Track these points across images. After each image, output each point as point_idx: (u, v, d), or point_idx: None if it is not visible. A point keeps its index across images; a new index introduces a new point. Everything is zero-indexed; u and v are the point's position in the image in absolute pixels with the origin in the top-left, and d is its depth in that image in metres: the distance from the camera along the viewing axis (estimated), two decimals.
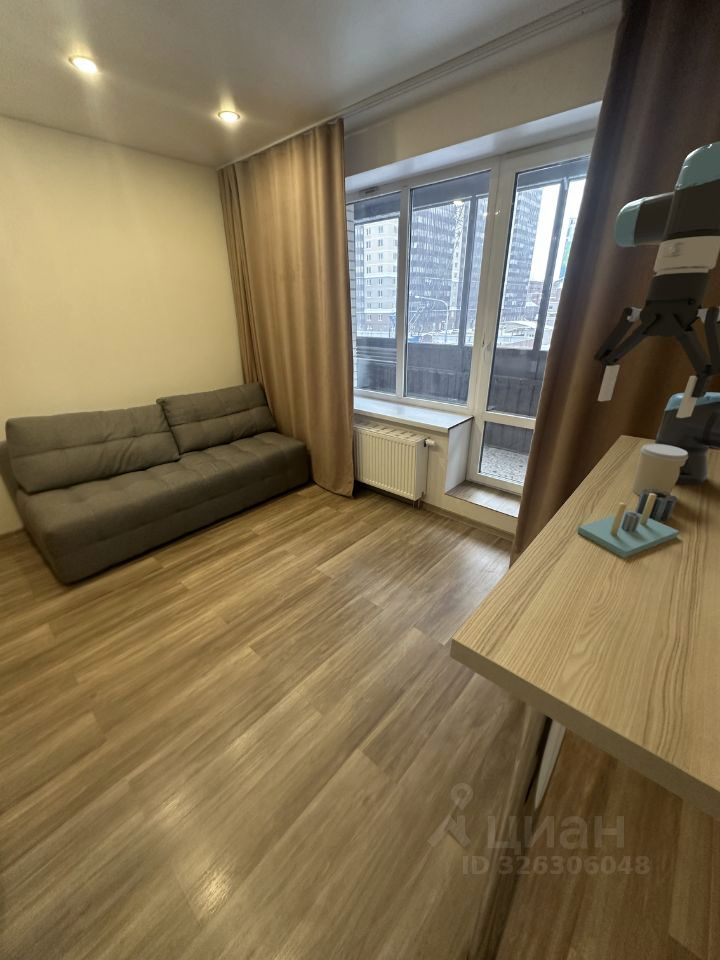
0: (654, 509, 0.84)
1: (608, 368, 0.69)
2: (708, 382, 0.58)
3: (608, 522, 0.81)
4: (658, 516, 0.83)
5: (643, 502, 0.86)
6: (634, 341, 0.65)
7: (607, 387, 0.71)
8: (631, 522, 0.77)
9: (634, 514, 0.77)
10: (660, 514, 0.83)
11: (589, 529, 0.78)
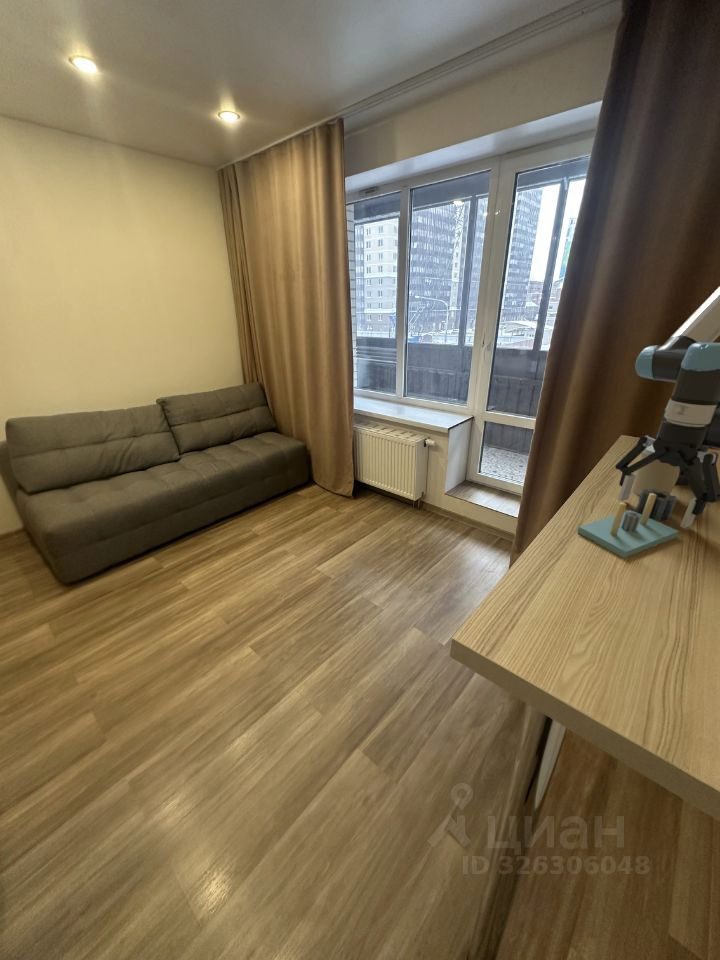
0: (654, 509, 0.84)
1: (627, 477, 0.89)
2: (704, 505, 0.77)
3: (608, 522, 0.81)
4: (658, 516, 0.83)
5: (643, 502, 0.86)
6: (648, 462, 0.85)
7: (625, 491, 0.90)
8: (631, 522, 0.77)
9: (634, 514, 0.77)
10: (660, 514, 0.83)
11: (589, 529, 0.78)
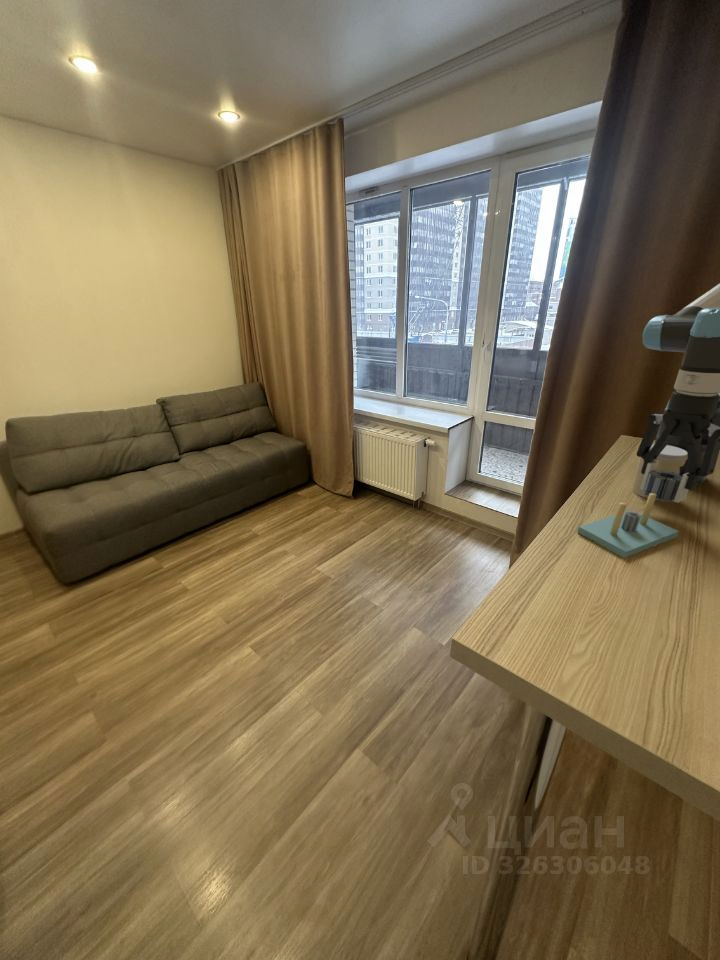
0: (662, 490, 0.82)
1: (649, 465, 0.85)
2: (697, 479, 0.78)
3: (608, 522, 0.81)
4: (667, 497, 0.82)
5: (651, 483, 0.84)
6: (665, 441, 0.81)
7: None
8: (631, 522, 0.77)
9: (634, 514, 0.77)
10: (669, 495, 0.81)
11: (589, 529, 0.78)
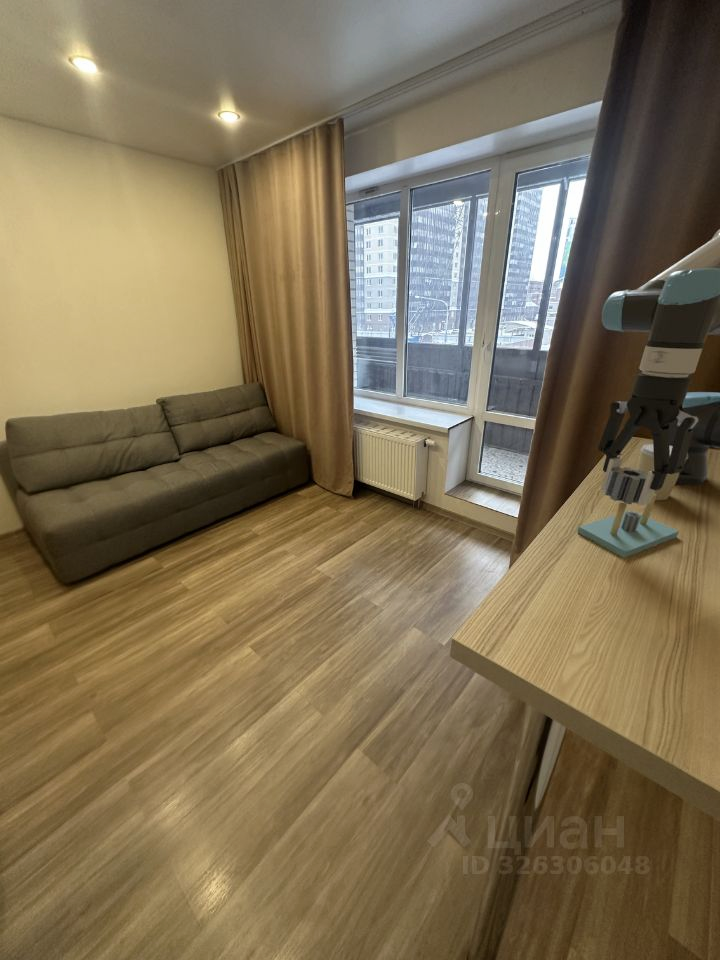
0: (625, 489, 0.70)
1: (611, 461, 0.73)
2: (664, 478, 0.66)
3: (608, 522, 0.81)
4: (629, 498, 0.69)
5: (613, 482, 0.72)
6: (629, 432, 0.69)
7: None
8: (631, 522, 0.77)
9: (634, 514, 0.77)
10: (632, 495, 0.69)
11: (589, 529, 0.78)
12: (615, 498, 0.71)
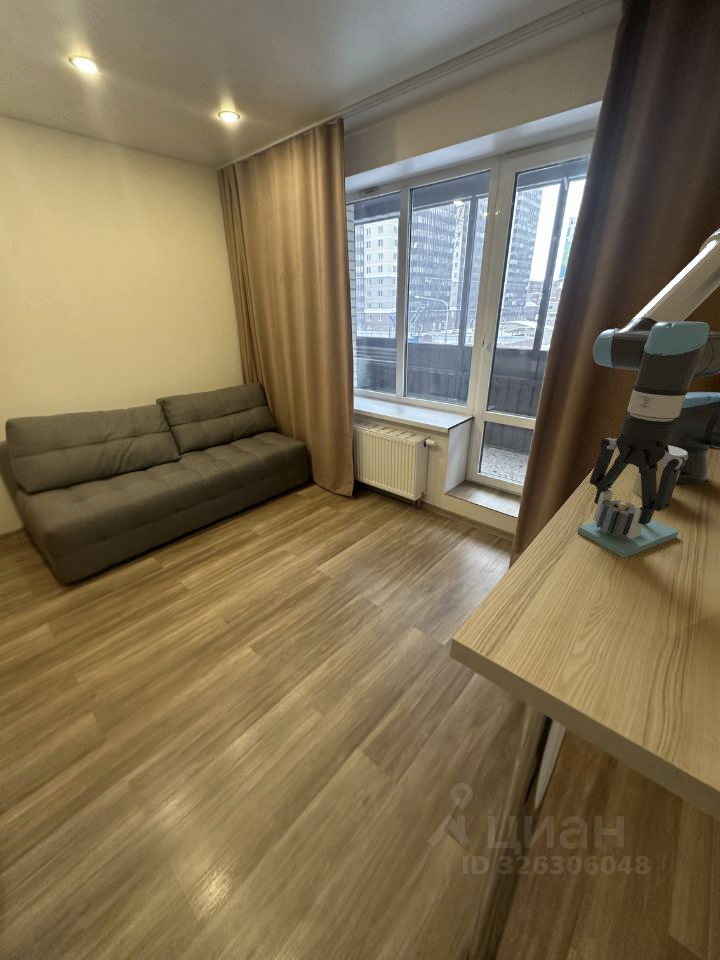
0: (615, 523, 0.73)
1: (602, 494, 0.76)
2: (651, 513, 0.69)
3: None
4: (619, 531, 0.73)
5: (603, 515, 0.75)
6: (619, 468, 0.72)
7: None
8: None
9: None
10: (621, 529, 0.72)
11: (589, 529, 0.78)
12: (605, 531, 0.74)
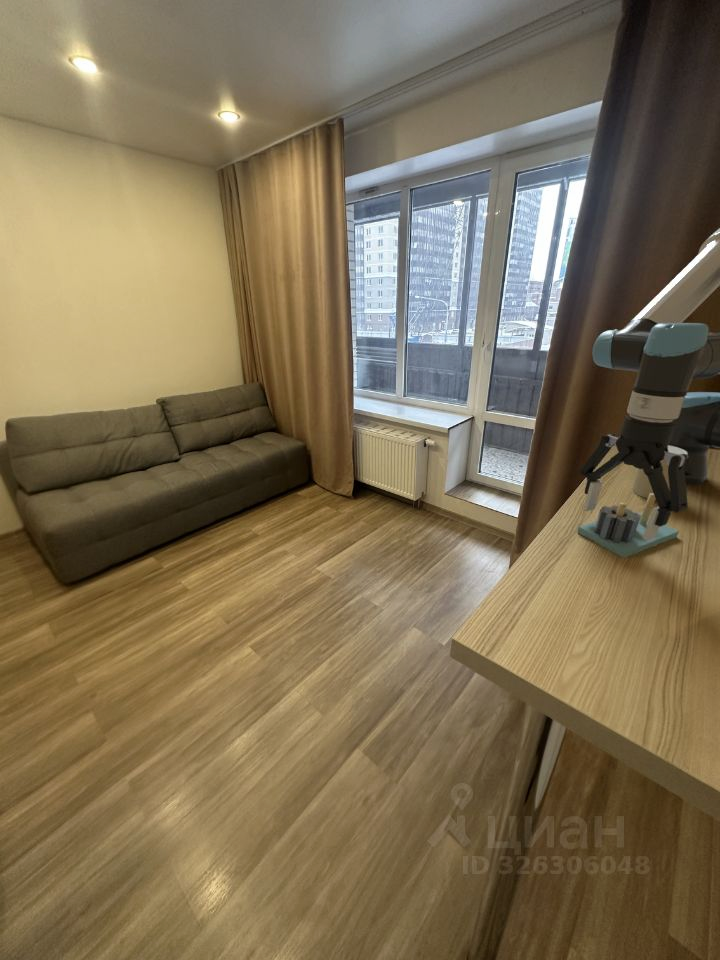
0: (613, 529, 0.74)
1: (592, 485, 0.77)
2: (668, 514, 0.67)
3: None
4: (617, 537, 0.73)
5: (602, 521, 0.76)
6: (613, 465, 0.73)
7: (591, 500, 0.79)
8: None
9: None
10: (619, 535, 0.73)
11: (589, 529, 0.78)
12: (604, 537, 0.75)
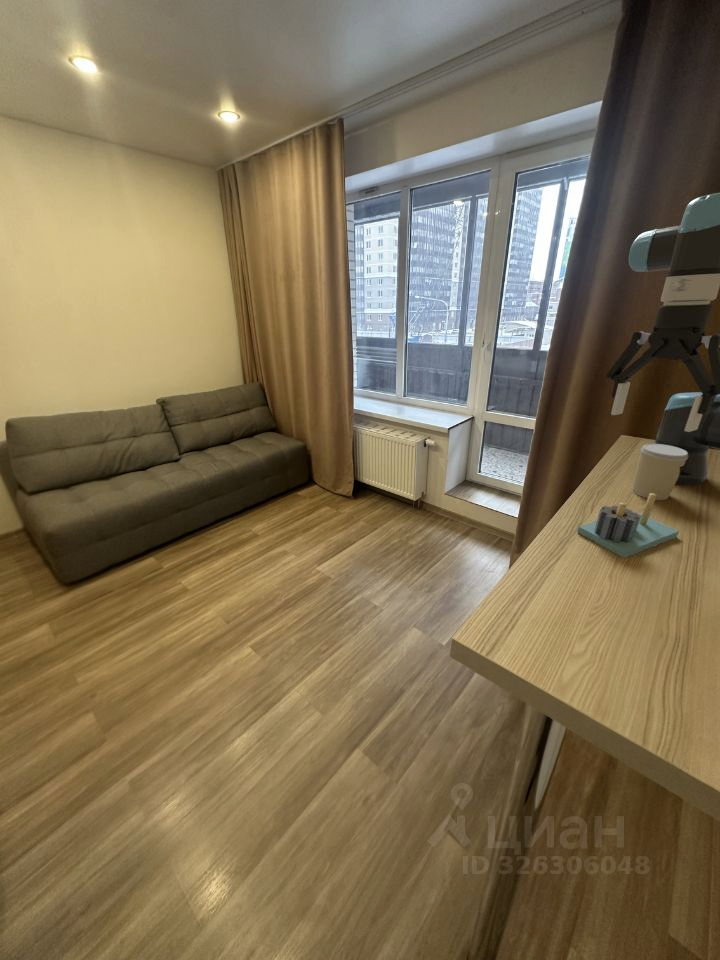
0: (613, 529, 0.74)
1: (620, 385, 0.77)
2: (712, 400, 0.65)
3: None
4: (617, 537, 0.73)
5: (602, 521, 0.76)
6: (644, 362, 0.72)
7: (619, 402, 0.78)
8: None
9: None
10: (619, 535, 0.73)
11: (589, 529, 0.78)
12: (604, 537, 0.75)
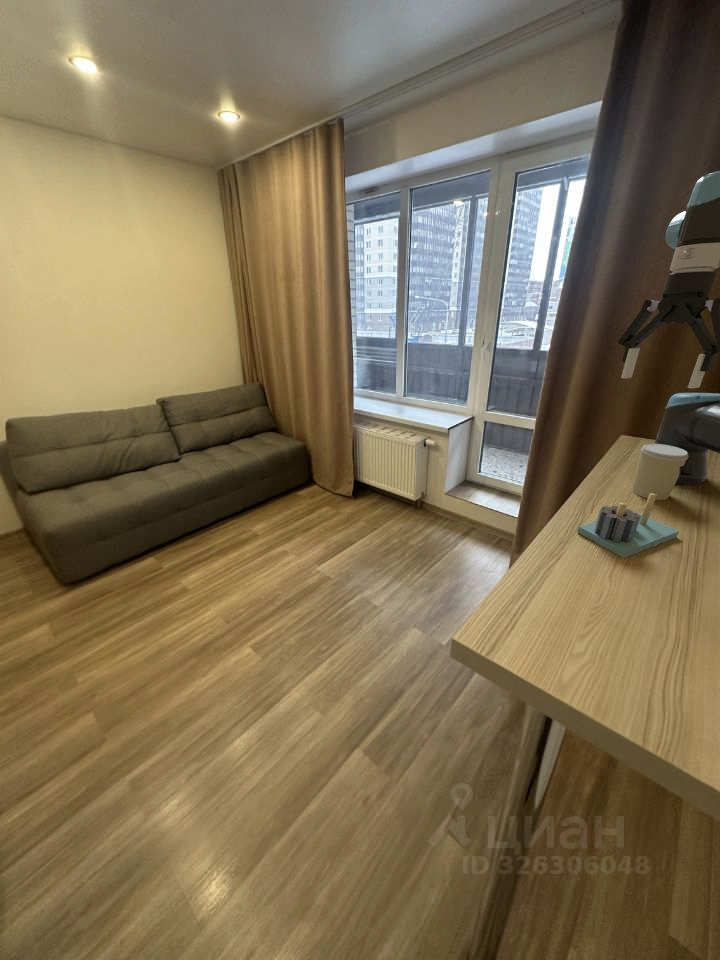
0: (613, 529, 0.74)
1: (630, 350, 0.84)
2: (713, 359, 0.73)
3: None
4: (617, 537, 0.73)
5: (602, 521, 0.76)
6: (653, 327, 0.80)
7: (629, 366, 0.86)
8: None
9: None
10: (619, 535, 0.73)
11: (589, 529, 0.78)
12: (604, 537, 0.75)
